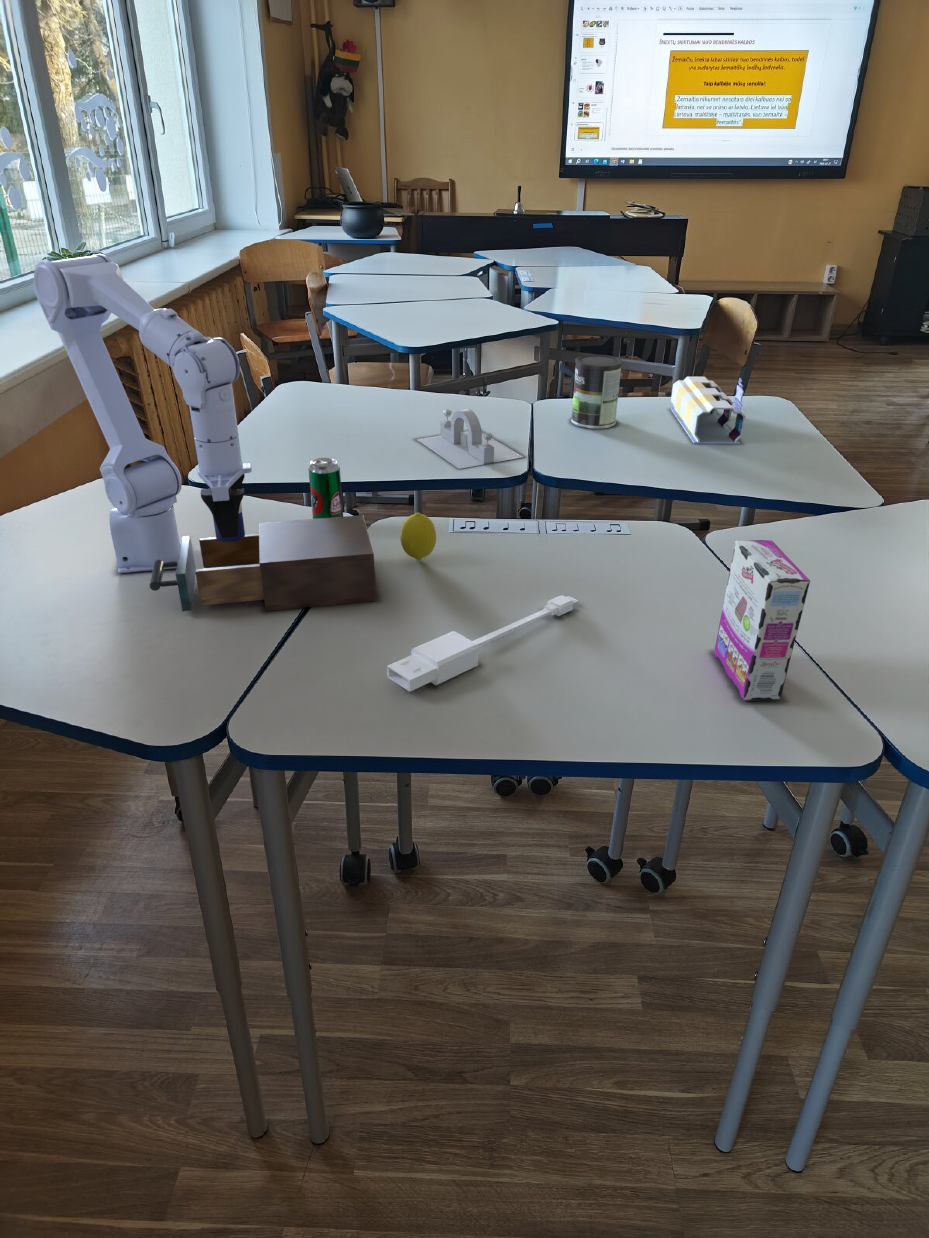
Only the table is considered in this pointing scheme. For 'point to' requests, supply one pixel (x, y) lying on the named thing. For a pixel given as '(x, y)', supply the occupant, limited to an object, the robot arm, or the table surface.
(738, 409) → the diorama
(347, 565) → the cabinet
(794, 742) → the table surface
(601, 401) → the coffee can
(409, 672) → the charging cable
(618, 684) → the table surface
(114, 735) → the table surface
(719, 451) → the table surface
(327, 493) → the soda can
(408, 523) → the lemon
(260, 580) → the drawer
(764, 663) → the candy bar box
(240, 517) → the blue jar
